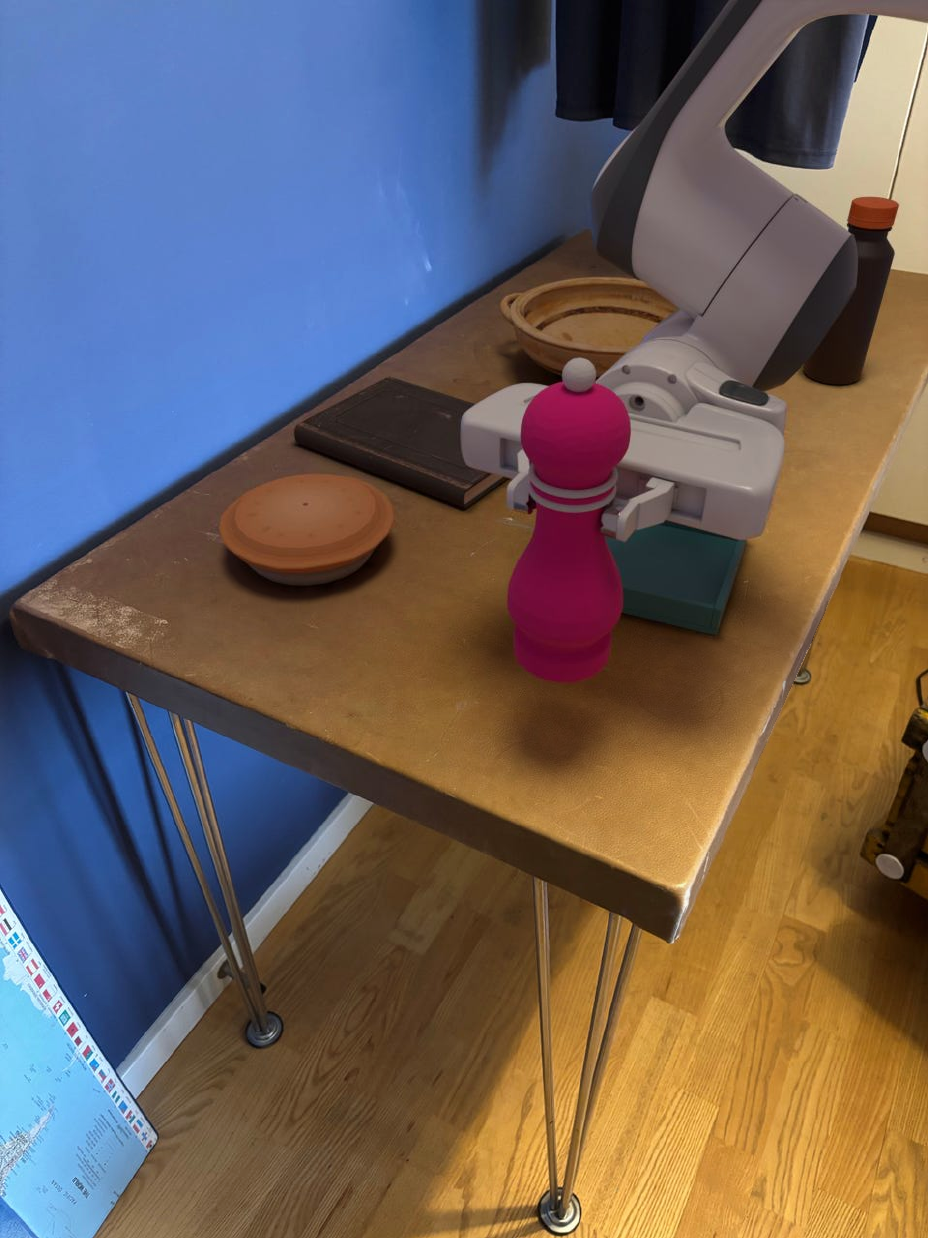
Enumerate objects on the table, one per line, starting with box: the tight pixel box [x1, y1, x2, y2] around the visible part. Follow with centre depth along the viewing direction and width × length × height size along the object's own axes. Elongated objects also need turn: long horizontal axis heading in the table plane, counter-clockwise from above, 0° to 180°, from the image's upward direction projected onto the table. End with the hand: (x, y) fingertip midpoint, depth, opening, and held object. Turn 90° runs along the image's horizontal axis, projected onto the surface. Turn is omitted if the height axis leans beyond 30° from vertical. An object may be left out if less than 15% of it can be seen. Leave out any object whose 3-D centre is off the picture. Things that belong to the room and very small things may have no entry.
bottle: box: [803, 196, 900, 386], centre depth 106 cm, size 7×7×20 cm
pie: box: [218, 473, 396, 587], centre depth 82 cm, size 15×16×5 cm
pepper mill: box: [506, 358, 631, 684], centre depth 53 cm, size 7×7×20 cm
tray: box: [605, 504, 748, 636], centre depth 81 cm, size 17×14×3 cm
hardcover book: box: [293, 375, 509, 509], centre depth 98 cm, size 16×23×2 cm
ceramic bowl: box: [499, 276, 679, 383], centre depth 111 cm, size 30×24×8 cm
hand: (564, 514), depth 52 cm, fingers closed on pepper mill, 5 cm apart
